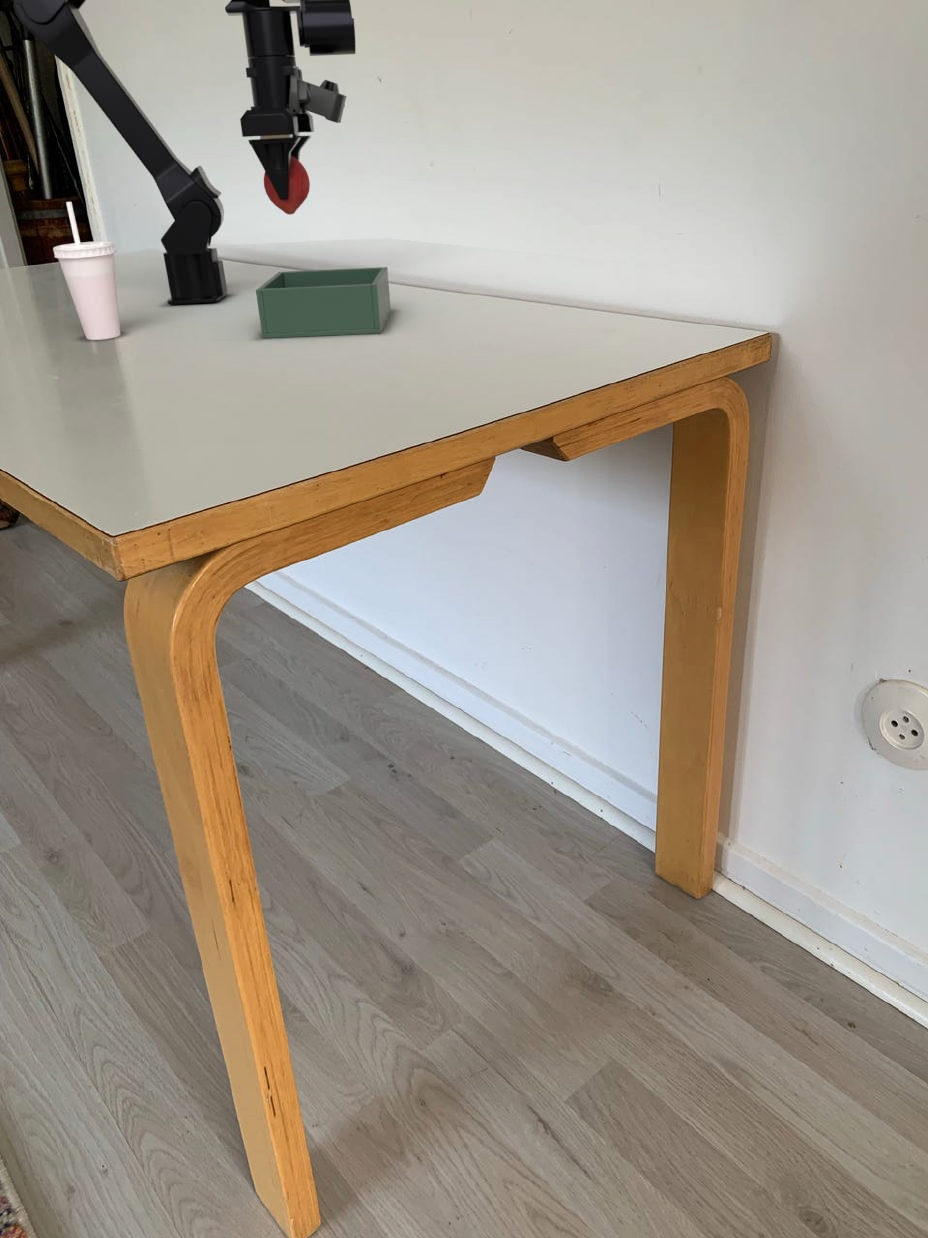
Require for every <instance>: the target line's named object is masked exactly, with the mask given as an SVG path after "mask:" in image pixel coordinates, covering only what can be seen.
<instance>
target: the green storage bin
mask: <svg viewBox="0 0 928 1238" xmlns="http://www.w3.org/2000/svg"><path fill="white" fill-rule="evenodd" d="M255 293H256V301H257V308H258V309H257V310H258V316H259V322H260V328H261V329H260V330H261V336H262V339H275V338H278V339H280V338H299V337H302V338H303V337H324V336H348V335H349V336H350V335H370V334H371V335H372V334H381V333H382V331H383V329H384V327H385V324H386V323H387V321H388V318H389V316H390V314H391V311H392V309H391V296H390V284H389V271H388V267H387V266H382V267H381V266H380V267H360V268H359V267H358V268H336V269H333V268H332V269H316V270H315V269H314V270H292V271H291V270H290V271H289V270H288V271H278V272H277V273H275V274H274V275H273V276H272V277H271V278H269V279H268V280H267V281H265V282H264V283H263V284H262V285H260V286H259V287H257V289H255Z"/></svg>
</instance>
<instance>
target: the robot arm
mask: <svg viewBox="0 0 928 1238" xmlns="http://www.w3.org/2000/svg"><path fill="white" fill-rule="evenodd" d="M281 1H282V2H283V3H285V4H299V5H284V6H283V5H271V2H270V0H230V1H229V2H228V4H227V5H226V6H225V7H224V10H225V13H226V14H227V16H230V17H232V16H237V17H238V16H241V17H242V25H243V33H244V41H245V48H246V55H247V65H248V67H245V73H246V78H248V79H249V80H250V87H251V95H252V96H251V97H252V103H253V106H250V109H246V110H245V112H244V113H243V115H242V116H241V117H240V118H239V121H240V130H241V136H242V137H243V138H245V137H246V138H248V137H259V138H255V139H248V144H249V145H250V147H251V148H252V149H253V151H254V153H255V155H256V157H257V159H258V160H259V162H260V165H261V166H262V168H263V170H264V173H265V172H266V174H267V176H268V178H269V179H270V181H271V183H272V185H273V187H274V189H275V191H276V193H277V195H278V197H279V199H280V200H288V199H289V185H290V155H291V156H293V157H294V158H296V159H297V160H298V161H299V162H300V158H301V157H300V156H301V151H302V149H303V148H304V147H305V145H306V144H307V143H308V141H309V140H311V137H312V135H301V134H300V133H314V132H315V128H314V117H313V115H312V114H315V115H319V116H321V117H324V118H325V120H327V121H330V122H333V123H335V124H340V123H341V122H342V118H343V113H344V108H345V107H346V100H347V95H345V94H343V93H340V90H339V86H338V85H339V84H338V83H336V82H333V81H332V80H328V79H324V80H323V82H321V84H320V85H316V84H314V83H311V82H309V81H305V80H303V71H302V69H300V67H299V66H297V61H296V53H295V43H294V34H293V24H292V16H291V15H292V14H293V15H295V16H296V17H295V18H296V26H297V36H298V43H299V47H300V48H302V47H303V48H304V49H307V48H308V54H309V56H310V57H318V56H319V57H320V56H321V57H322V56H341V55H343V56H345V55H356V49H357V48H356V29H355V28H356V27H355V18H354V17H352V15H353V13H352V6H351V1H350V0H281ZM86 2H87V0H13V10H14V13H15V15H16V17H17V18H18V20H19V22H20V23H21V24H22V25H23V26H24V27H25V28H26V29H27V30H28V31H29V32H30V33H31V34H32V35H33V36H34V37H35V38H36V39H37V40H38V41H39V42H40V43H41V44H42V45H43V46H44V47H45V48H46V49H47V50H49V51H50V52H51V53H52V54H53V55H54V56H55V57H56V58H57V59H59V61H61V62H62V63H63V64H64V65H65V66H66V67H67V68H69V70H70V71H71V72H72V73H73V74H74V75H75V77H76V78H77V80H78V81H79V82H80V83H81V84H82V86H83V87H84V88H85V90H86V91H87V92H88V94H89V95H90V97H91V98H92V99H93V101H94V102H95V103H96V105H97V106H98V107H99V108H100V109H101V111H102V113H104V115H105V116H106V118H107V119H108V120H109V121H110V123H111V124H112V125H113V127H114V128H115V130H116V131H117V132H118V134H119V135H120V136H121V137H122V139H123V140H124V141H125V142H126V144H127V145H128V146H129V147H130V149H131V150H132V152H133V153H134V155H136V157H137V158H138V160H139V161H140V162H141V163H142V165H143V166H144V167H145V169H146V170H147V171H148V173H149V174H150V175H151V177H152V178H153V180H154V182H155V184H156V186H157V188H158V190H159V191H158V192H159V193H160V195H161V196H162V200H163V201H164V204H165V205H166V207H167V209H168V211H169V213H170V215H171V216H172V218H173V220H174V221H173V222H172V224H171V225H170V226H169V227H168V229H167V230H166V232H165V233H164V235H163V236H162V237H161V239H160V242H161V244H162V247H164V250H165V252H163V255H162V256H163V259H164V266H165V271H166V276H167V282H168V288H169V293H170V298H169V299H168V300H167V305H182V304H183V305H184V304H186V305H187V304H204V303H206V304H207V303H208V304H209V303H217V302H219V301H220V300H222V299H223V298H224V297H226V296H227V295H228V287H227V279H226V275H225V267H224V261H223V260H222V259H219V256H218V249H217V247H210V246H211V243H212V239H213V238H212V237H214V236H215V235H216V234H217V232H218V231H219V230H220V228H221V227H222V224H223V222H224V219H225V209H224V205H223V203H222V201H221V199H220V198H219V197H220V196H222V191H220V190H218V189H217V188H216V187H215V186H214V185H213V184H212V183H211V181H210V179H209V178H208V176H207V174H206V172H205V170H204V168H203V167H202V165H198V166H197V167H195V168H194V169H193V170H191V169H190V168H189V167H188V166H186V165H185V164H184V163H183V161H181V160H180V159H179V158H178V157H177V155H176V154H175V153H174V152H173V150H172V149H171V147H170V146H169V145H168V143H167V142H166V141H165V140H164V138H163V136H162V135H161V134H160V133H159V131H158V129H157V128H156V127H155V126H154V125H153V123H152V122H151V120H150V119H149V118H148V116H147V115H146V114H145V112H144V111H143V109H142V107H140V105H139V104H138V103H137V101H136V100H135V98H134V97H133V96H132V94H131V93H130V92H129V90H128V89H127V88H126V86H125V85H124V84H123V82H122V81H121V80H120V78H119V77H118V75H117V74H116V73H115V71H114V70H113V69H112V67H111V66H110V65H109V63H108V62H107V61H106V59H105V58H104V57H103V56H102V54H101V52H100V50H99V49H98V46H97V44H96V41H95V39H94V37H93V35H92V33H91V31H90V29H89V27H88V24H87V23H86V21H85V19H84V17H83V15H82V14H81V12H80V9H81V8H82V7H83V5H84V4H85V3H86ZM311 113H312V114H311Z"/></svg>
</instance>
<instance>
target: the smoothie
mask: <svg viewBox="0 0 928 1238" xmlns="http://www.w3.org/2000/svg"><path fill="white" fill-rule="evenodd" d="M65 204H66V208H67V213H68V217H69V222H70V226H71V231H72V237H73V241H74V242H73V243H65V244H60V245H56V246H54V247H53V249H52V251H53V254H54V258H55V259H57V260H58V262H59V266H60V268H61V271H62V273H63V276H64V279H65V282H66V285H67V288H68V291H69V293H70V296H71V299H72V302H73V305H74V307H75V310H76V314H77V316H78V319H79V321H80V324H81V328H82V330H83V332H84V335H85V339H86V340H90V341H100V340H101V341H102V340H109V339H114V338H117V337H120V336H121V335H122V334H121V324H120V311H119V302H118V301H119V300H118V290H117V289H118V287H117V277H116V265H115V255H114V254H116V253H117V250H116V246H115V242H112V241H106V240H105V241H86V242H85V241H83V242H81V239H80V238H81V237H80V234H79V230H78V226H77V221H76V216H75V212H74V206H73V203H72V201H66V202H65Z"/></svg>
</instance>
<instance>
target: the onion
mask: <svg viewBox="0 0 928 1238" xmlns="http://www.w3.org/2000/svg"><path fill="white" fill-rule="evenodd" d="M263 187H264V191H265V194H266V195H267V197H268V199H269V201H270V202H271V203H272V204H273V205H274V206H275V207H277V208H278V209H279V210H281V212H284V214H286V215H289V216H290V215H294V214H295V213H296V211H298V209H299V208H300V207H301V206H302V205H303V204H304V202H305V201H306V200H307V198H308V196H309V193H310V187H311V183H310V176H309V174H308V171H307V170H306V168H305V166H304V165H303V164H302V162H300V160H299V161H298V160H297V159H296V158H294V157H293V156H291V155H290V185H289V199H288V200H280V199H279V197H278V195H277V193H276V191H275V189H274V187H273V185H272V183H271V181H270V179H269V178H268V176H267V174H266V172H265V171H264V175H263Z"/></svg>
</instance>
